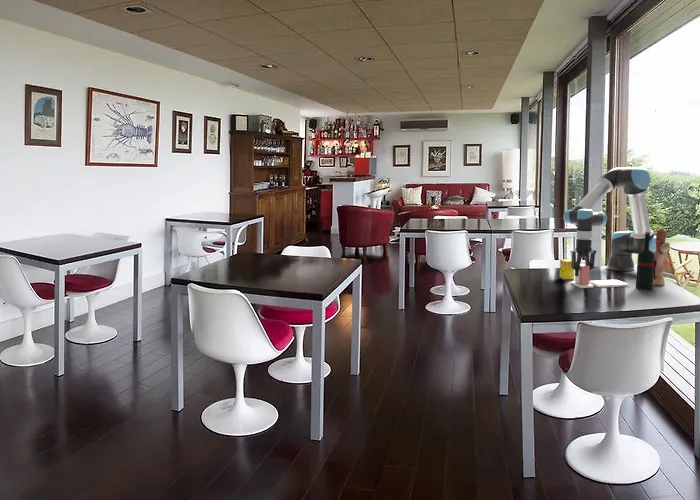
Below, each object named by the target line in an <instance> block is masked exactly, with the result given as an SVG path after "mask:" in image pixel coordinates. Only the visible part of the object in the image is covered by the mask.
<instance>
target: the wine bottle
mask: <svg viewBox="0 0 700 500" xmlns="http://www.w3.org/2000/svg"><path fill="white" fill-rule="evenodd" d="M649 241H650V232H649V231H645V244H644V250H642V251H640V252H639V254H637V264H636V276H635V290H639V291H644V290H646V291H652V290H653V288H654V285H653V277H654V279H656V277H655V267H656V262H657V261H656V260H654V256H655V255H654V253H653V252H652V251H650V250H649ZM646 291H645V292H646Z"/></svg>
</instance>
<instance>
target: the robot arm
mask: <svg viewBox="0 0 700 500" xmlns="http://www.w3.org/2000/svg"><path fill="white" fill-rule="evenodd" d="M650 184H651V175H650V173H649V171H648V170H647V169H646V168H644V167H637V166H636V167H615V168H612V169H611V170H608V171H607V172H606V173H604V174H603V175H601V176H600V177H599V178H598V179H597V180H596V184H595V185H594V186H593V188H591V189H590V190H589V192H587V194H586V195H585V196H584V197H583V198H582V199H581V200H580V201H579V202H578V203H577V205H576V206H575V207H573V209H566V210H565V211H564V213H563V221H564V222H565V224H570V225H576V239H575V240H576V241H575V245H576V246H575V249H574V250H570V255H571V259H570V260H571V268H572V269H574V277H575V276H576V282H578V283H580V270H579V267H580V264H582V263H581V262H582V259H583V258H584V262H585V263H584V264H585V265H588V266H590V271H592V269H594V268H595V258H596V253H597V250H596V249H592V242H593V240H592V238H593V227H600V226H603V225H605V224H606V223H607V221H608V216H607V214H606V213H605V212H604V211H599V210H597V211H594V210H593V209H594V207H596V205H597V204H598V203H600V201H601V200H602V198H604V197H605V195H606V194H608V193H609V192H612V191H613V190H614V189H623V192H624V194H625V195H627V199H628V204H629V210H630V215H631V216H630V217H631V223H632V229H633V230H632V231H631V230H628V231H627V230H623V231H622V230H621V231H615V232H613V233H612V234H611V243H610V244H611V245H610V257H609V259H608V262H607V263H606V269H607V270H611V271H618V272H633V271H635V264H634V260H633V254H634V255H638V254H639V252H640V251H642V250H644V244H645V231H649V232H650V241H649V250H650V251H652V250H655V251H656V235H655V232H654V230H653V229H652V228H651V226H650V220H649V212H648V207H647V200H646V195H645V194H646V191H647V190H648V188H649V187H650ZM590 276H591V272H590V273H589V277H590Z"/></svg>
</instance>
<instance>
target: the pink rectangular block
mask: <svg viewBox="0 0 700 500" xmlns="http://www.w3.org/2000/svg"><path fill="white" fill-rule="evenodd" d="M579 270H580V283H578V282H576V276H575V275H574V281H570V285H573V286H575V287H578V288H579V289H590V288H591V289H592V288H593V289H594V286H595V285H593V284H590V283H589V281H590V276H589V273H590V274H591V270H590V266H588V265H586V264H585V263H580V267H579Z"/></svg>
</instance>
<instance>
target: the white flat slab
mask: <svg viewBox="0 0 700 500" xmlns="http://www.w3.org/2000/svg"><path fill="white" fill-rule="evenodd" d="M589 284H591V285H594V286H596V287H598V288H615V287H617V288H618V287H629V286H630V285H629V283H627V282H624V281H621V280H618V279H605V280H589Z"/></svg>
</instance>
